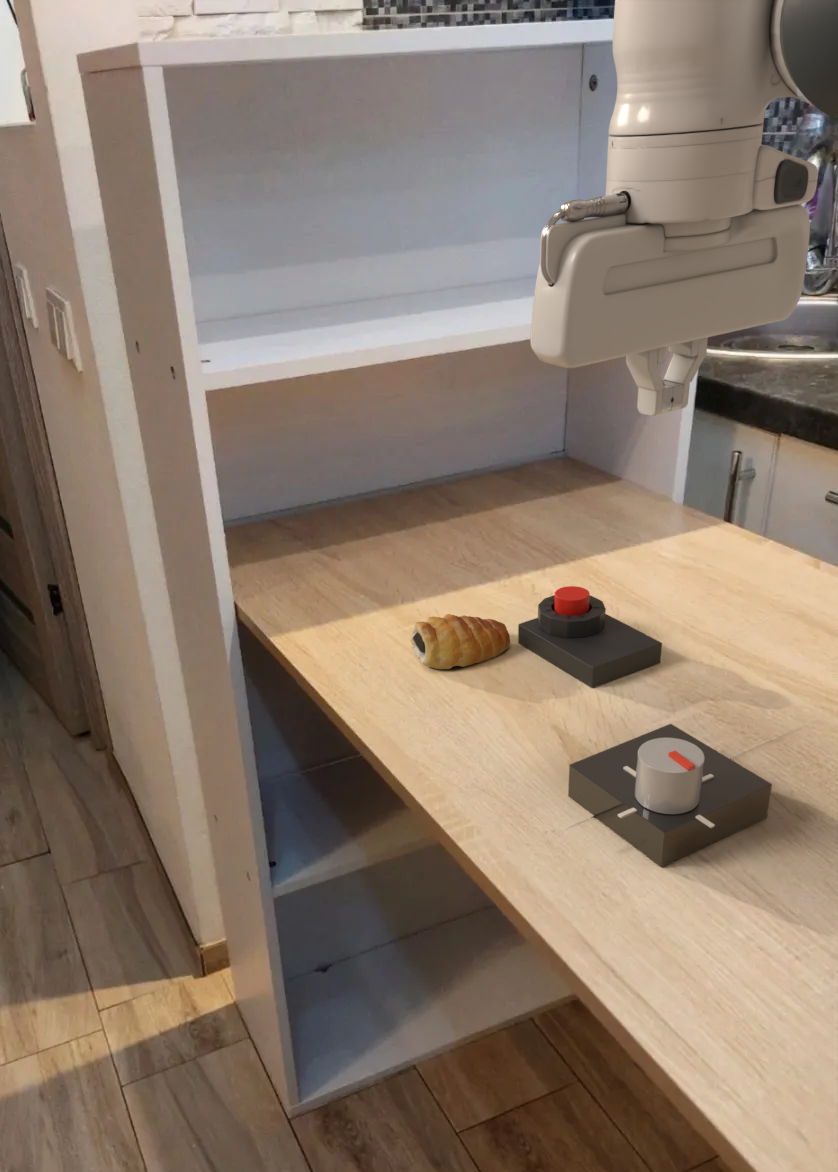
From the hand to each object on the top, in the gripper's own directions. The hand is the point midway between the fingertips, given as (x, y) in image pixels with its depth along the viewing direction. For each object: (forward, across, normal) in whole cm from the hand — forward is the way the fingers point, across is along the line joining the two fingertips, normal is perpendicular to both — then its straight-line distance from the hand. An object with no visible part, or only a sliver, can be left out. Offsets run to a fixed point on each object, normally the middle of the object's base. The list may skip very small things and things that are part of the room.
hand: (662, 411), depth 70 cm
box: (+27, +7, +14) cm, 31 cm away
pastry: (+27, -3, +22) cm, 35 cm away
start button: (+23, +7, +17) cm, 30 cm away
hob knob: (+24, -6, -10) cm, 27 cm away
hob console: (+27, -4, -8) cm, 28 cm away
